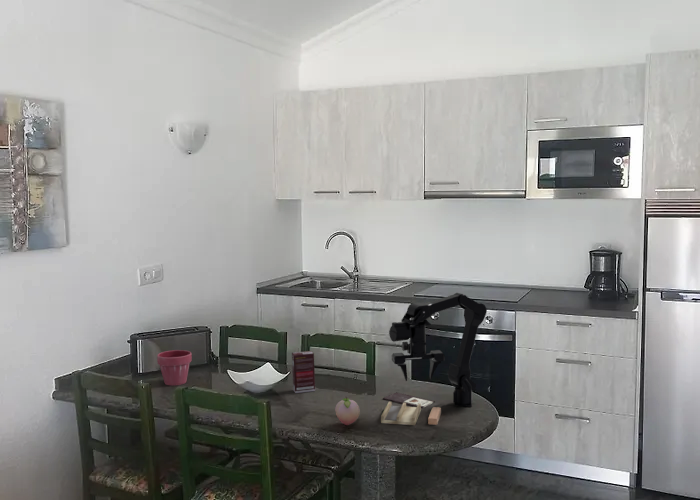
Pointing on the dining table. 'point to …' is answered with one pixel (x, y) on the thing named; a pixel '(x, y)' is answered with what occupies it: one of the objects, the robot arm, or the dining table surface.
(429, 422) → the clay strip
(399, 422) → the cream desk organizer
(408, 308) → the robot arm
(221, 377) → the dining table surface
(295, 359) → the supplement box
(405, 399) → the chocolate bar
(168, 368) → the plant pot
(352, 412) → the decorative fruit
